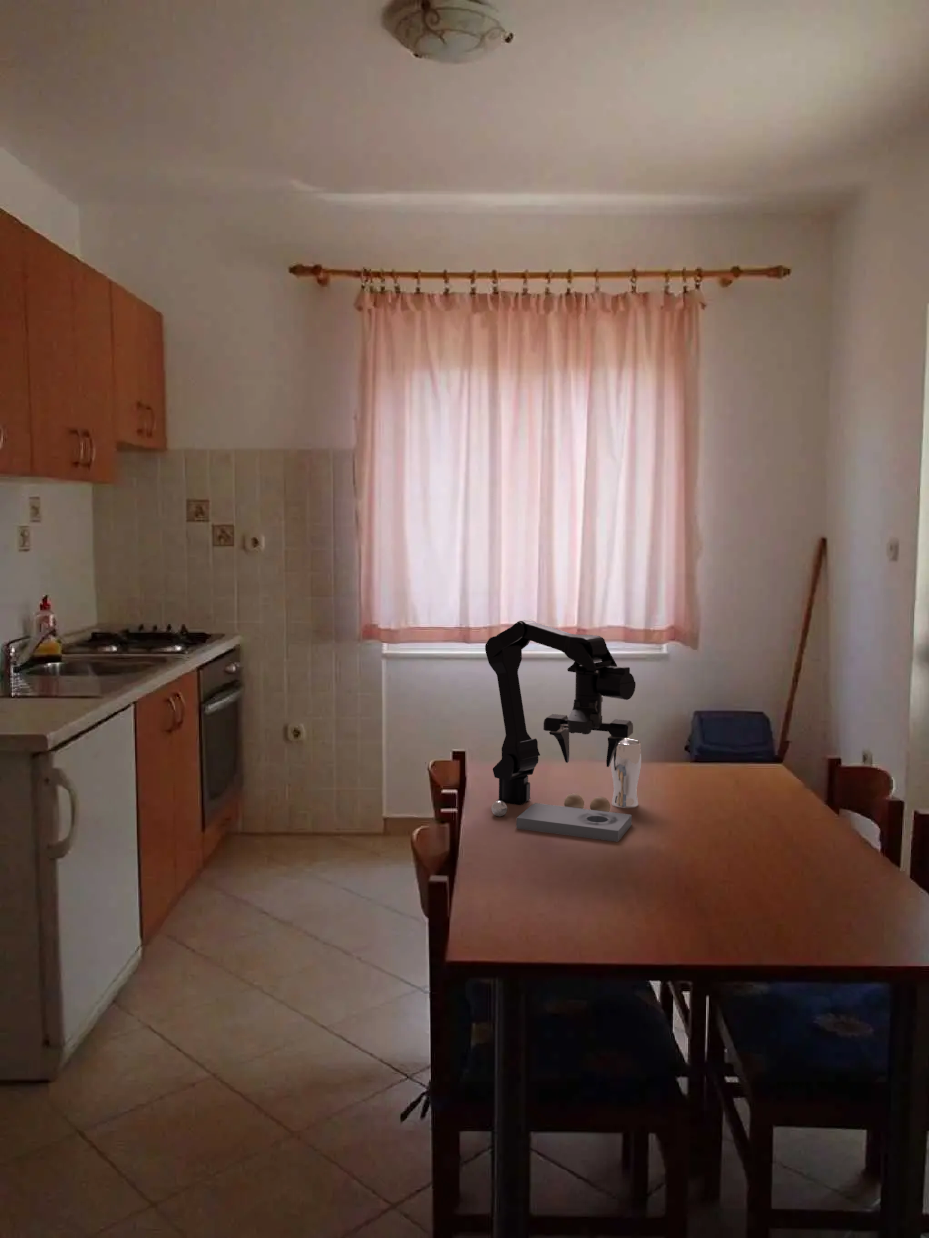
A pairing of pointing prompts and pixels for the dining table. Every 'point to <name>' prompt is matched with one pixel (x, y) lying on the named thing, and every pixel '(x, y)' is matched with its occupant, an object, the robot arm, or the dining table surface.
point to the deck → (574, 822)
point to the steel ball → (499, 808)
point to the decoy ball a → (574, 801)
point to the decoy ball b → (600, 804)
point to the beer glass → (626, 773)
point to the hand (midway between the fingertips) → (587, 764)
